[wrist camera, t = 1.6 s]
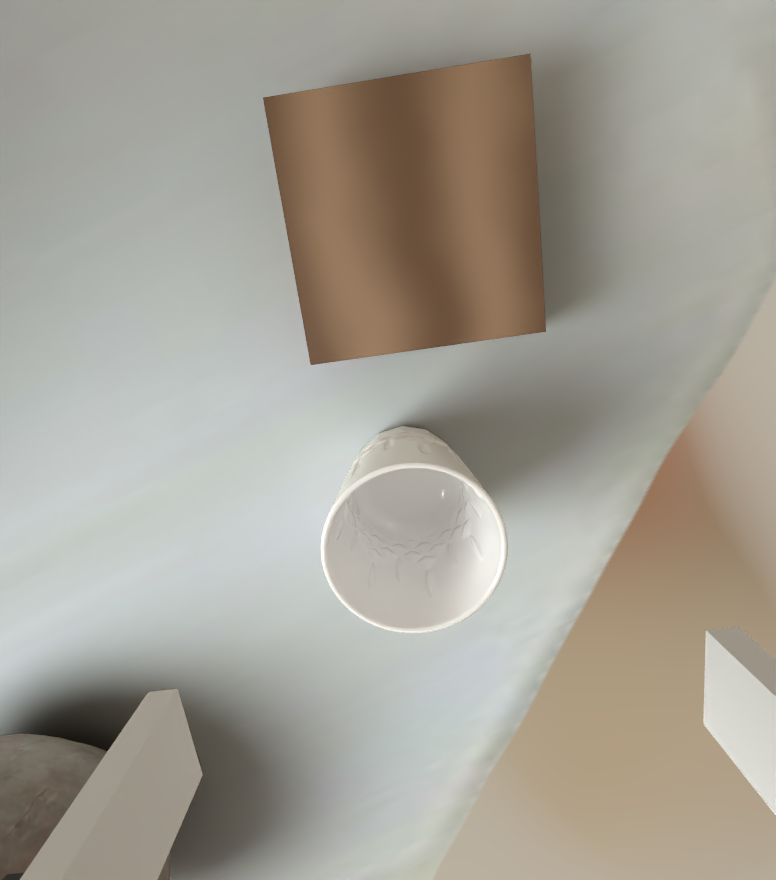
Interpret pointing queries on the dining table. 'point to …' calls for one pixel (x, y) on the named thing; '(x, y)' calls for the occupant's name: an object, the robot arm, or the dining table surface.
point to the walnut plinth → (412, 208)
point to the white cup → (412, 535)
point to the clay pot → (40, 793)
